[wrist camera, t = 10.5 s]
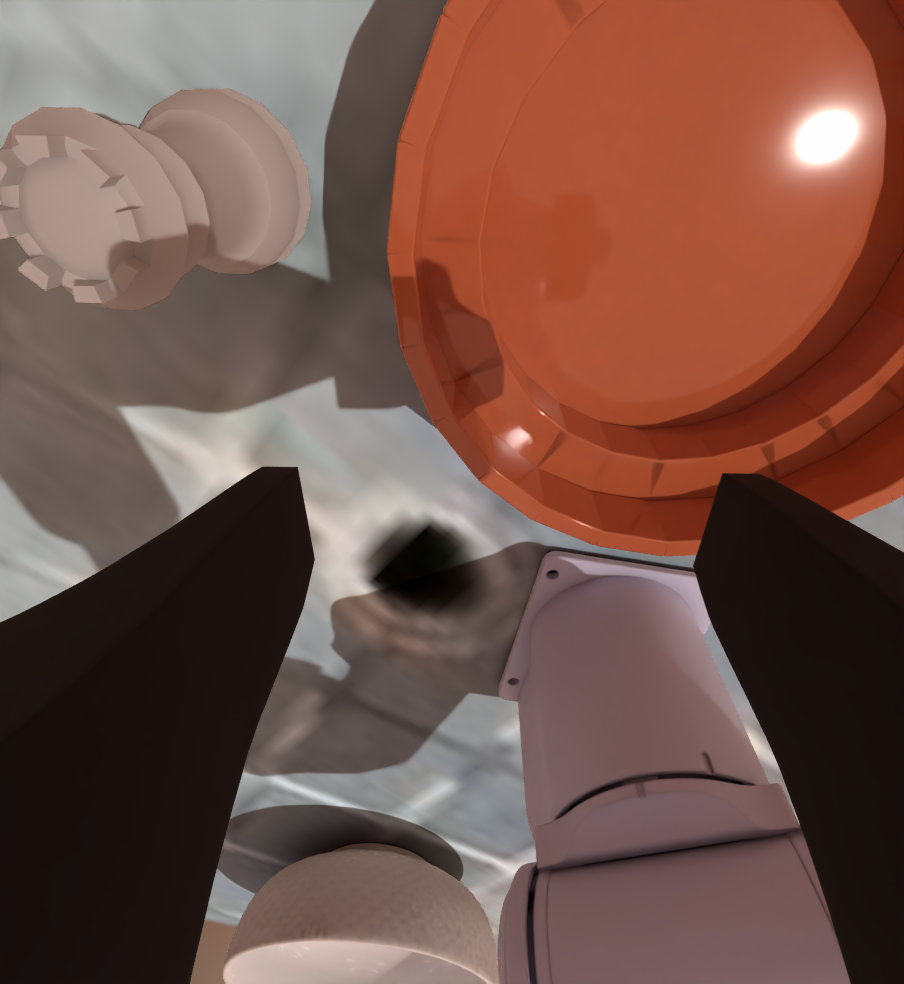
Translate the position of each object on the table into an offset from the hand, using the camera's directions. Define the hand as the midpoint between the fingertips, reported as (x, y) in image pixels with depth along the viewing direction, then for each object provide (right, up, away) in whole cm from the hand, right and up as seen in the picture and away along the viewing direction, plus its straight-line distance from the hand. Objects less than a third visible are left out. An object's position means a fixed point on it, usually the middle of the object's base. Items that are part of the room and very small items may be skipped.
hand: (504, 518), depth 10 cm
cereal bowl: (-6, -26, +30) cm, 40 cm away
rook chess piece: (-7, +9, +6) cm, 13 cm away
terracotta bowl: (+6, +8, +6) cm, 12 cm away
